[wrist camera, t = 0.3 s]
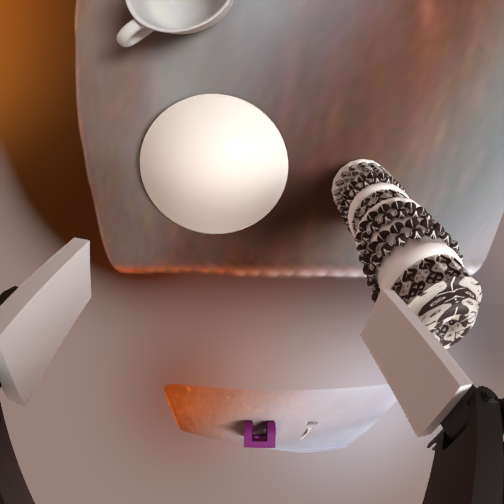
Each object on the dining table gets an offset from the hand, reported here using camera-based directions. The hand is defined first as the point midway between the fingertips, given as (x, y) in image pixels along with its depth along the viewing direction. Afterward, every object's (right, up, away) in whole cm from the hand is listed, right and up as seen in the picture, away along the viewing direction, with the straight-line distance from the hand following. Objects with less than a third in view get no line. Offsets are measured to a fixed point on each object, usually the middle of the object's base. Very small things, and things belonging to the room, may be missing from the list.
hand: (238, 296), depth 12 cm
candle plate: (-4, +13, +24) cm, 28 cm away
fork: (+20, -61, +77) cm, 100 cm away
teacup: (-7, +30, +12) cm, 34 cm away
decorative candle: (+15, +11, +26) cm, 32 cm away
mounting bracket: (+3, -57, +74) cm, 94 cm away
